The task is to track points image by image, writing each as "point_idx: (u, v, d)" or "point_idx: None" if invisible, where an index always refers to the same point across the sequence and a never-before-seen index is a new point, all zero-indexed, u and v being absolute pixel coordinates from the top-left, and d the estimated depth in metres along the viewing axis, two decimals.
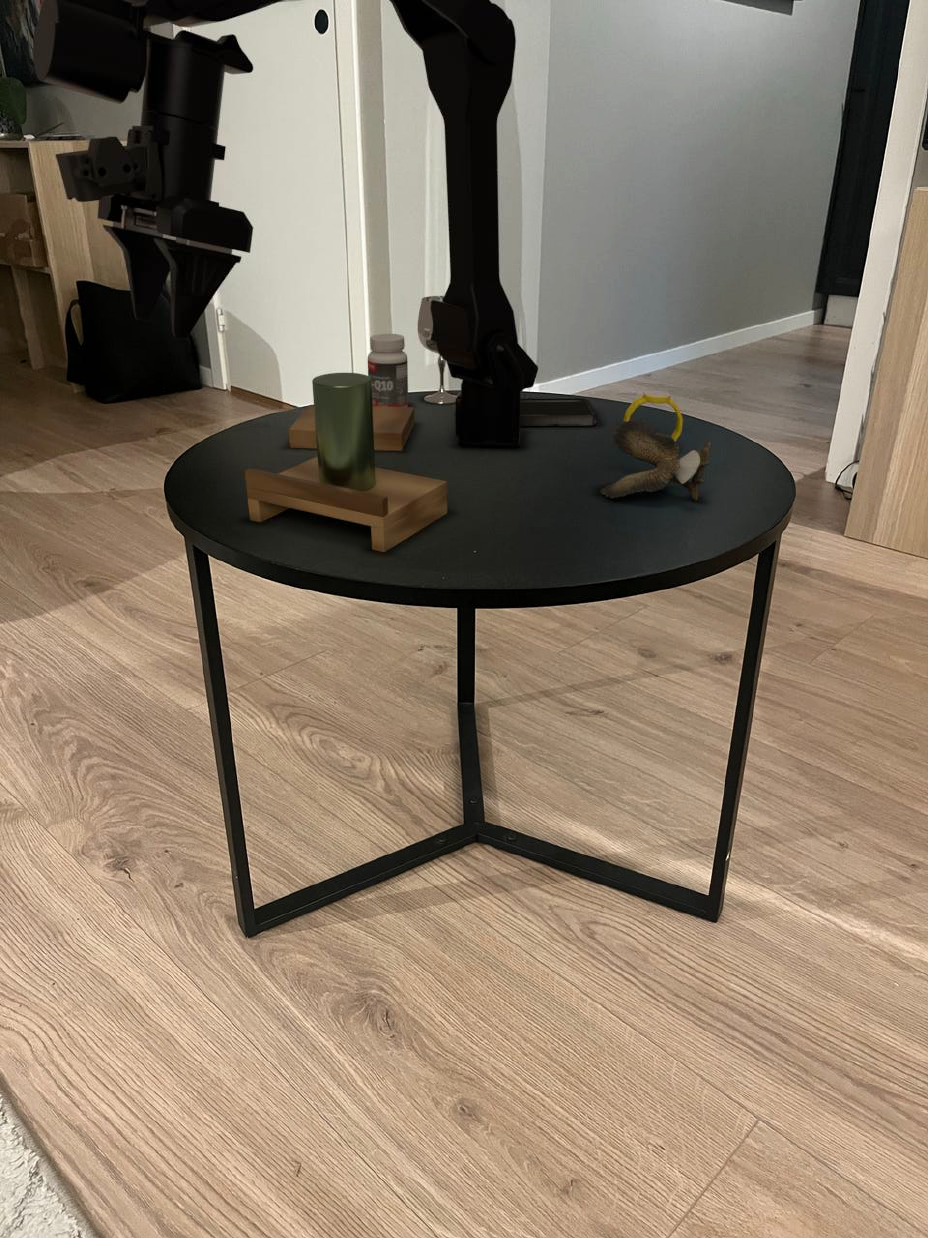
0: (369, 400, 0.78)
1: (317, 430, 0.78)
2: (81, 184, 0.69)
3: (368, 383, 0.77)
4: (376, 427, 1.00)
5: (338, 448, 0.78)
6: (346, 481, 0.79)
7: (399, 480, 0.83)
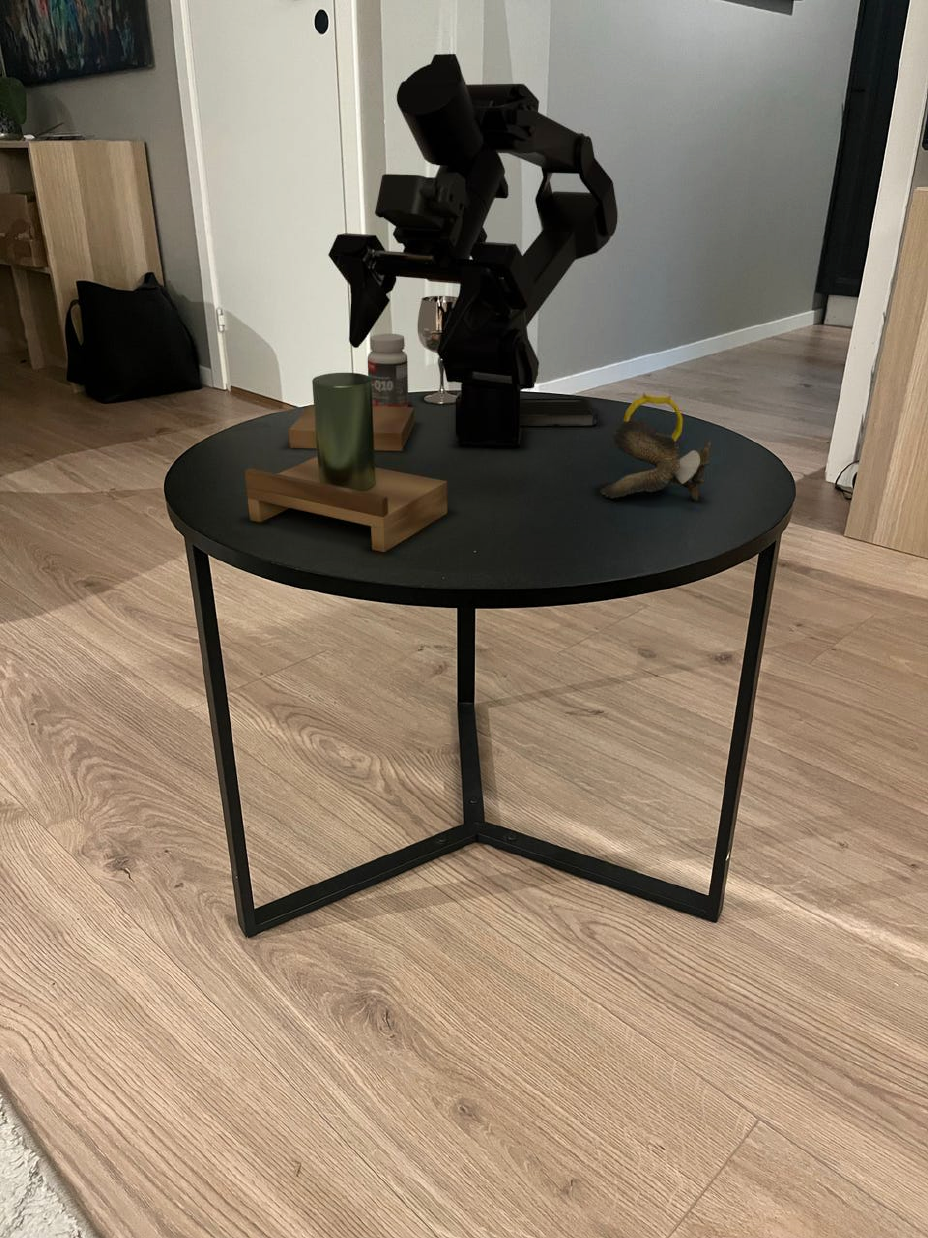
0: (369, 400, 0.78)
1: (317, 430, 0.78)
2: (421, 200, 0.78)
3: (368, 383, 0.77)
4: (376, 427, 1.00)
5: (338, 448, 0.78)
6: (346, 481, 0.79)
7: (399, 480, 0.83)
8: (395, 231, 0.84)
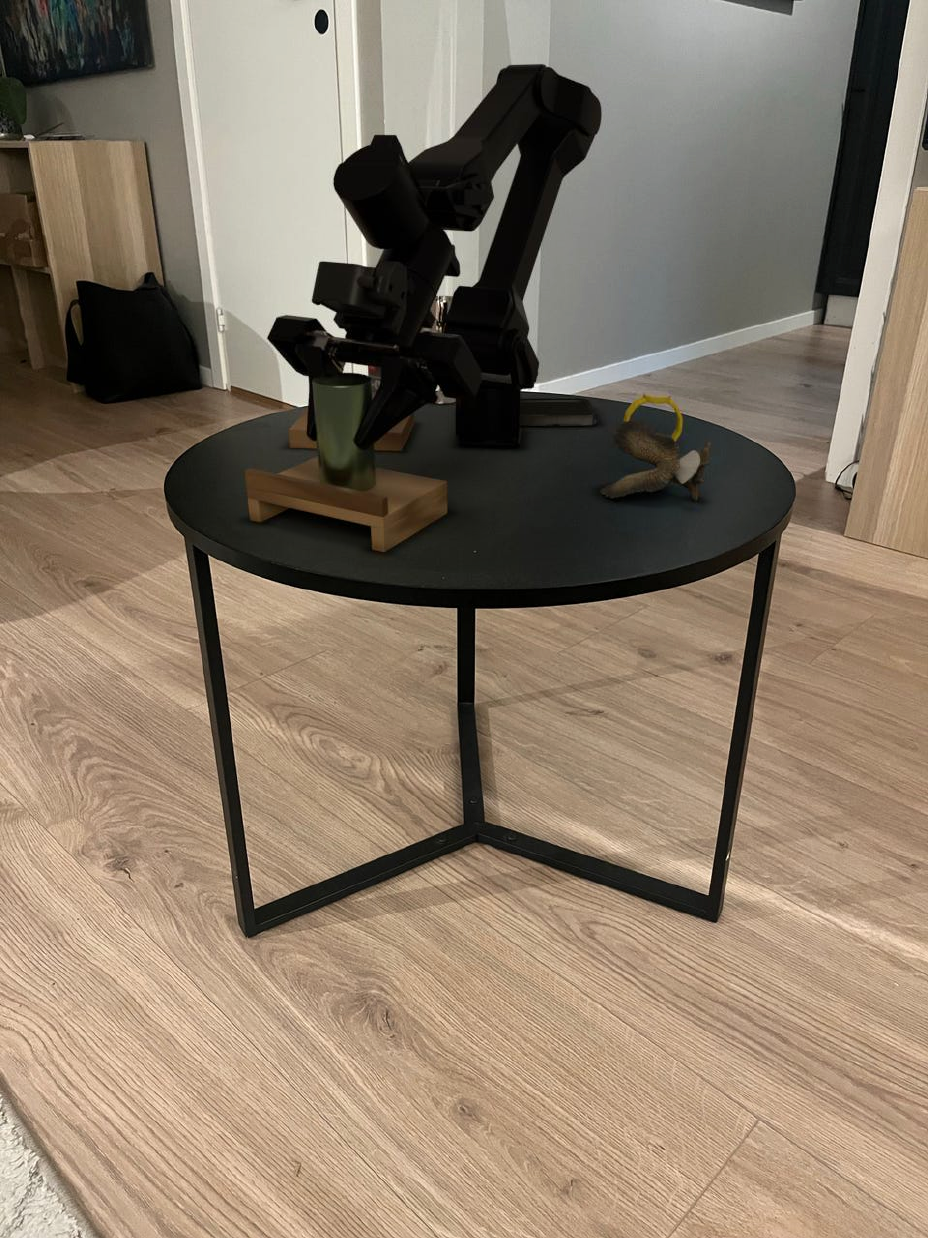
0: (369, 400, 0.78)
1: (317, 430, 0.78)
2: (359, 291, 0.73)
3: (368, 383, 0.77)
4: None
5: (338, 448, 0.78)
6: (346, 481, 0.79)
7: (399, 480, 0.83)
8: (336, 316, 0.79)
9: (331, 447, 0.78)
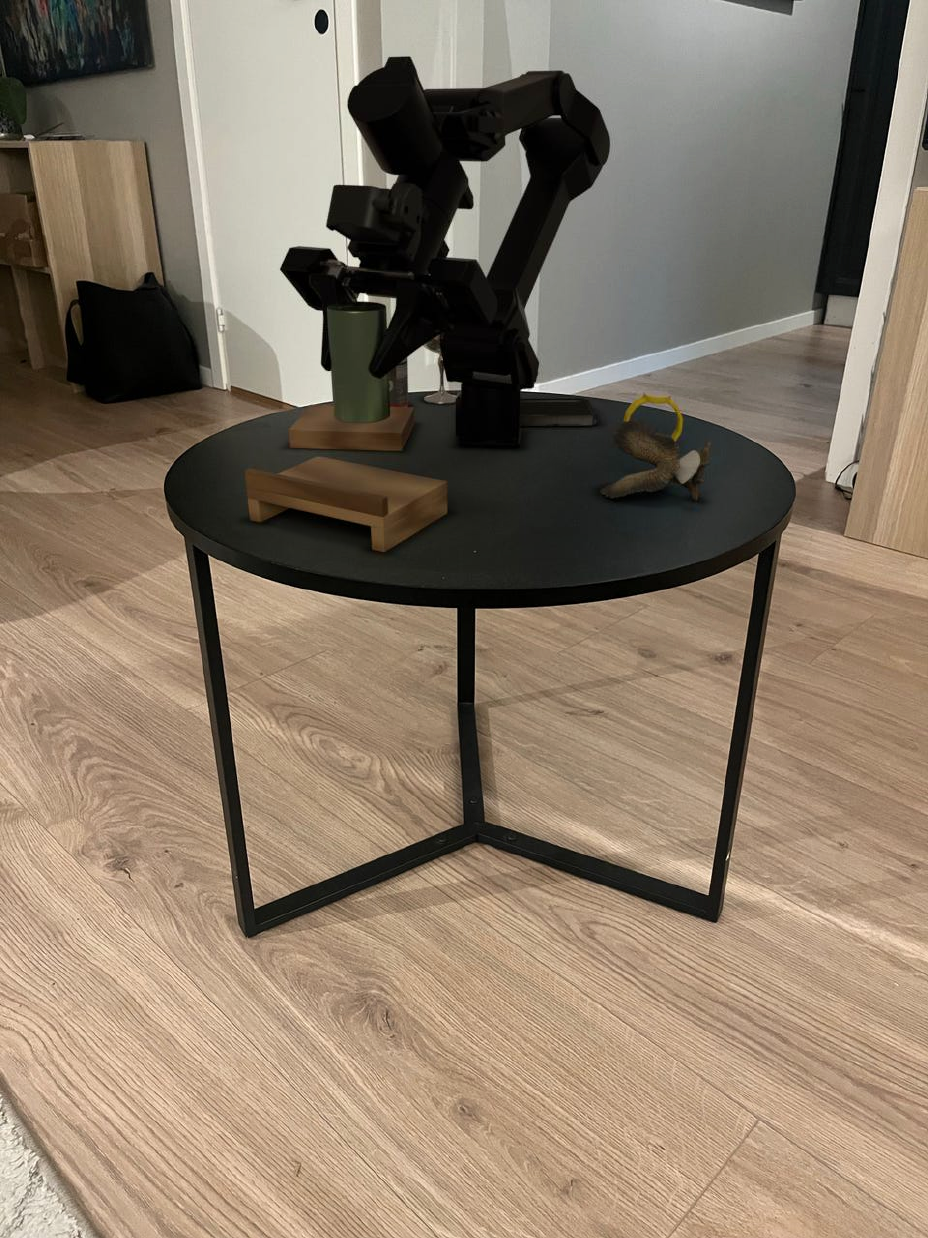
0: (384, 327, 0.77)
1: (332, 359, 0.78)
2: (374, 213, 0.73)
3: (383, 309, 0.76)
4: (376, 427, 1.00)
5: (353, 376, 0.77)
6: (361, 410, 0.79)
7: (399, 480, 0.83)
8: (350, 245, 0.79)
9: (346, 375, 0.77)
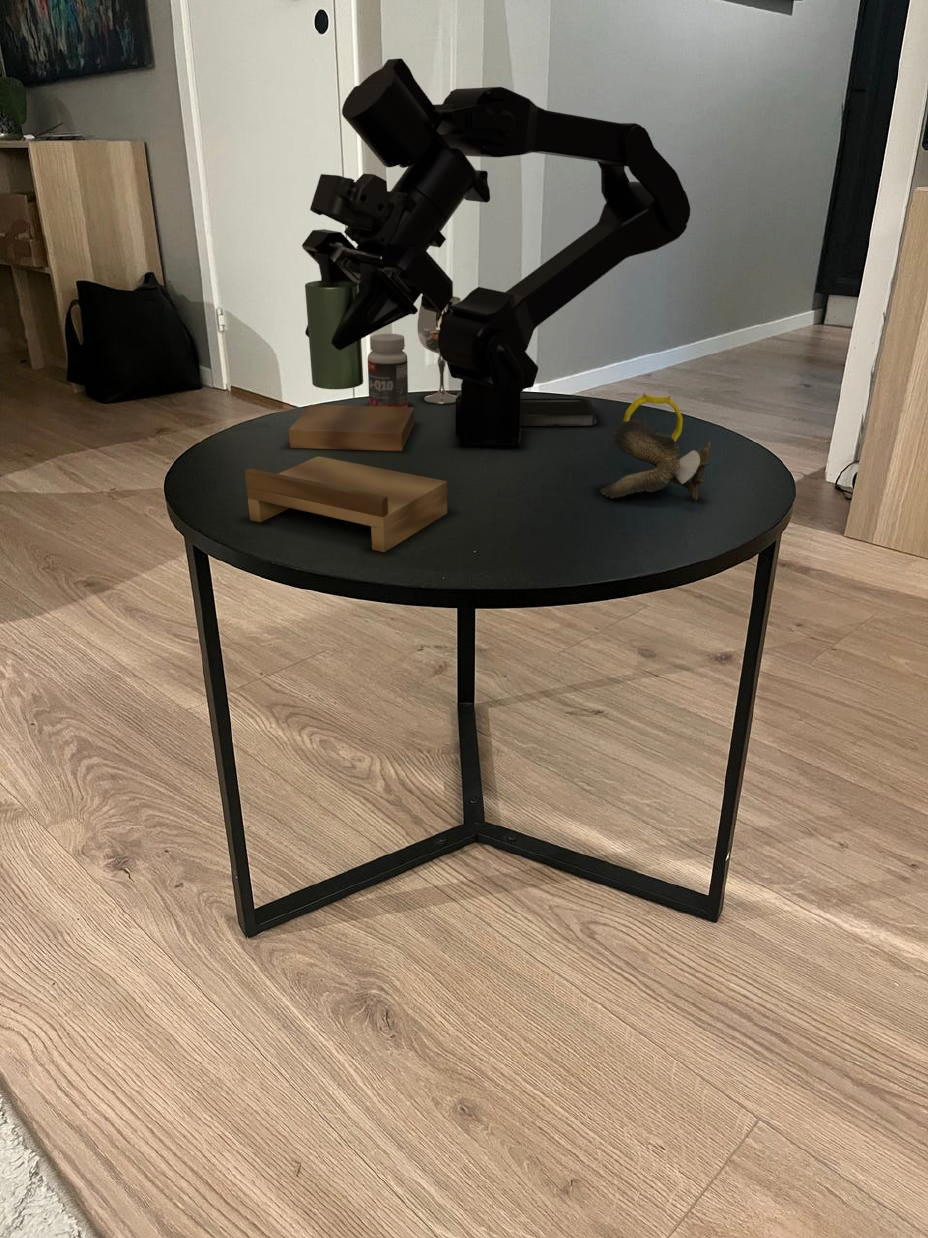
0: (349, 304, 0.85)
1: (308, 328, 0.88)
2: (337, 200, 0.81)
3: (348, 287, 0.84)
4: (376, 427, 1.00)
5: (318, 345, 0.87)
6: (325, 377, 0.88)
7: (399, 480, 0.83)
8: (346, 229, 0.88)
9: (313, 344, 0.87)
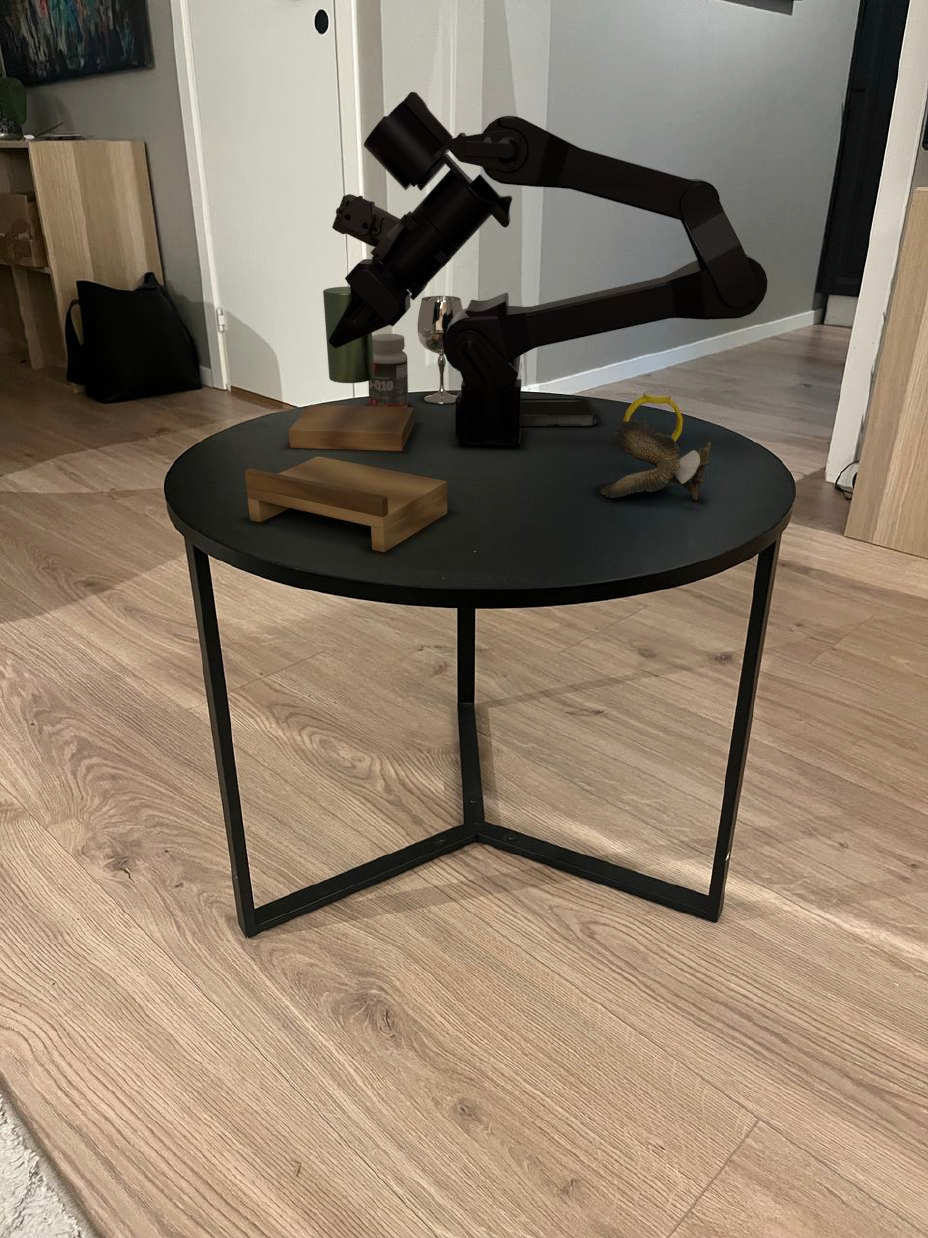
0: None
1: None
2: (338, 217, 0.92)
3: (345, 294, 0.95)
4: (376, 427, 1.00)
5: (327, 342, 0.99)
6: (330, 370, 1.00)
7: (399, 480, 0.83)
8: None
9: None
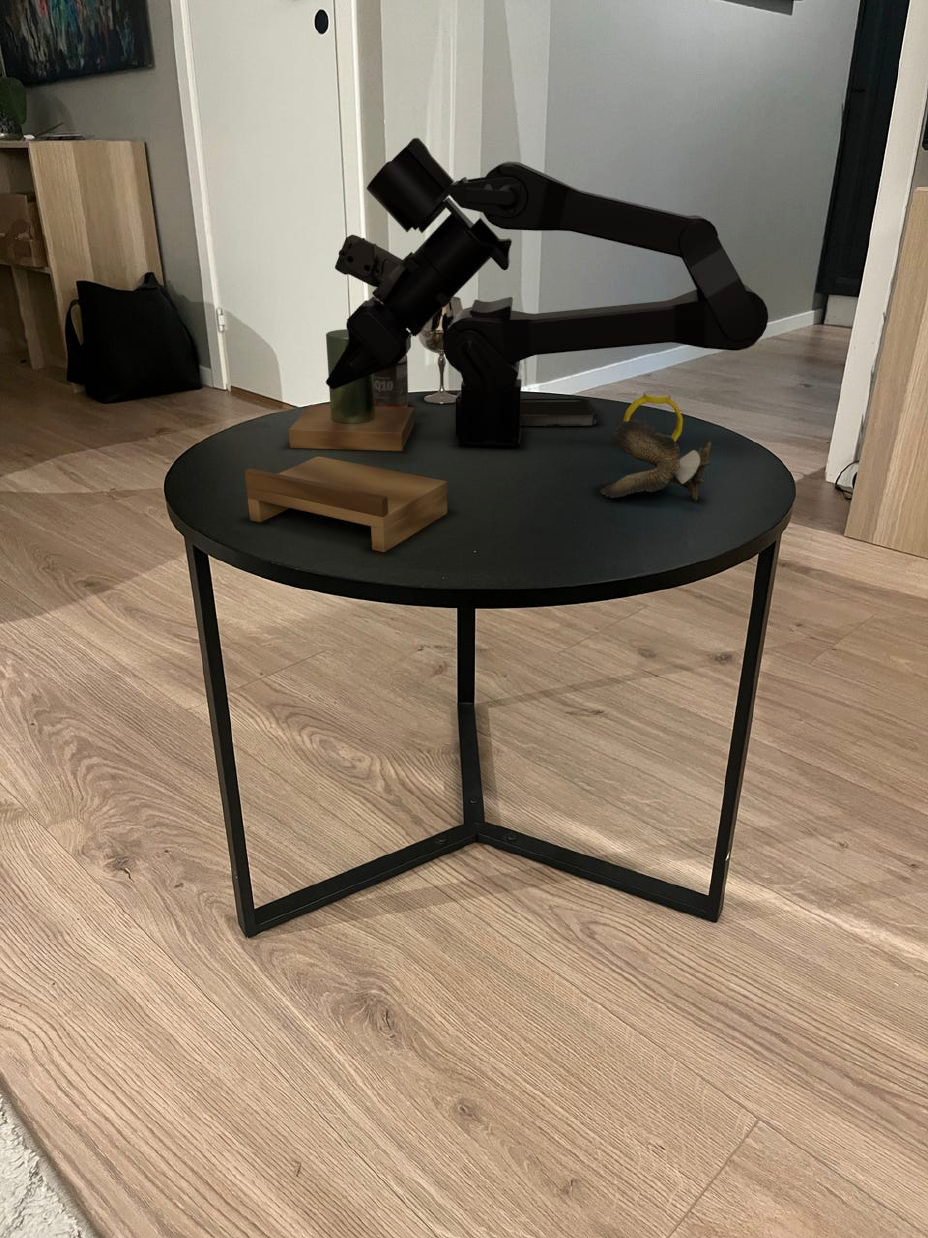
0: None
1: None
2: (340, 258, 0.94)
3: (348, 339, 0.97)
4: (376, 427, 1.00)
5: None
6: (332, 410, 1.02)
7: (399, 480, 0.83)
8: None
9: None
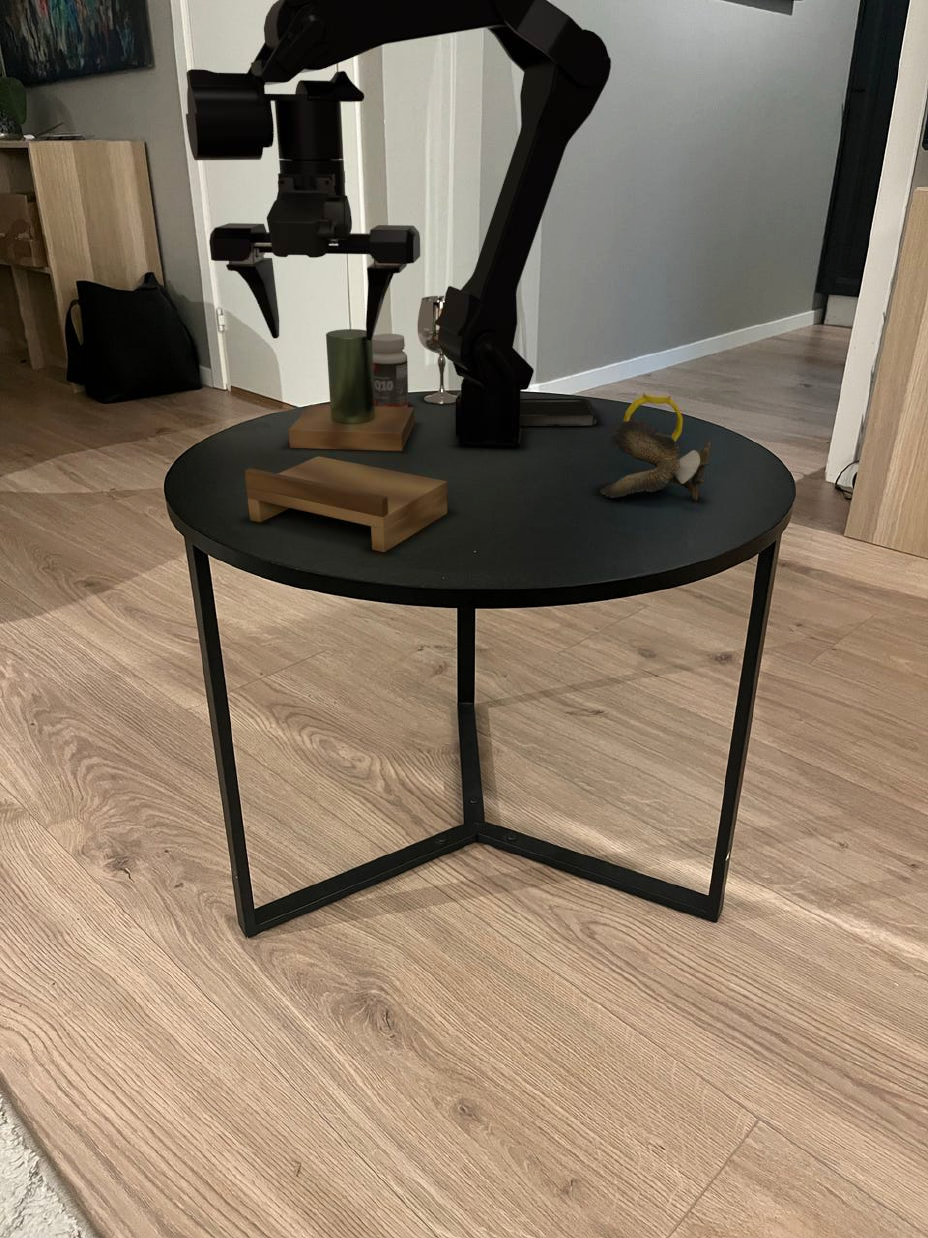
0: (349, 353, 0.98)
1: None
2: (321, 242, 0.81)
3: (348, 339, 0.97)
4: (376, 427, 1.00)
5: (329, 383, 1.01)
6: (332, 410, 1.02)
7: (399, 480, 0.83)
8: None
9: None
